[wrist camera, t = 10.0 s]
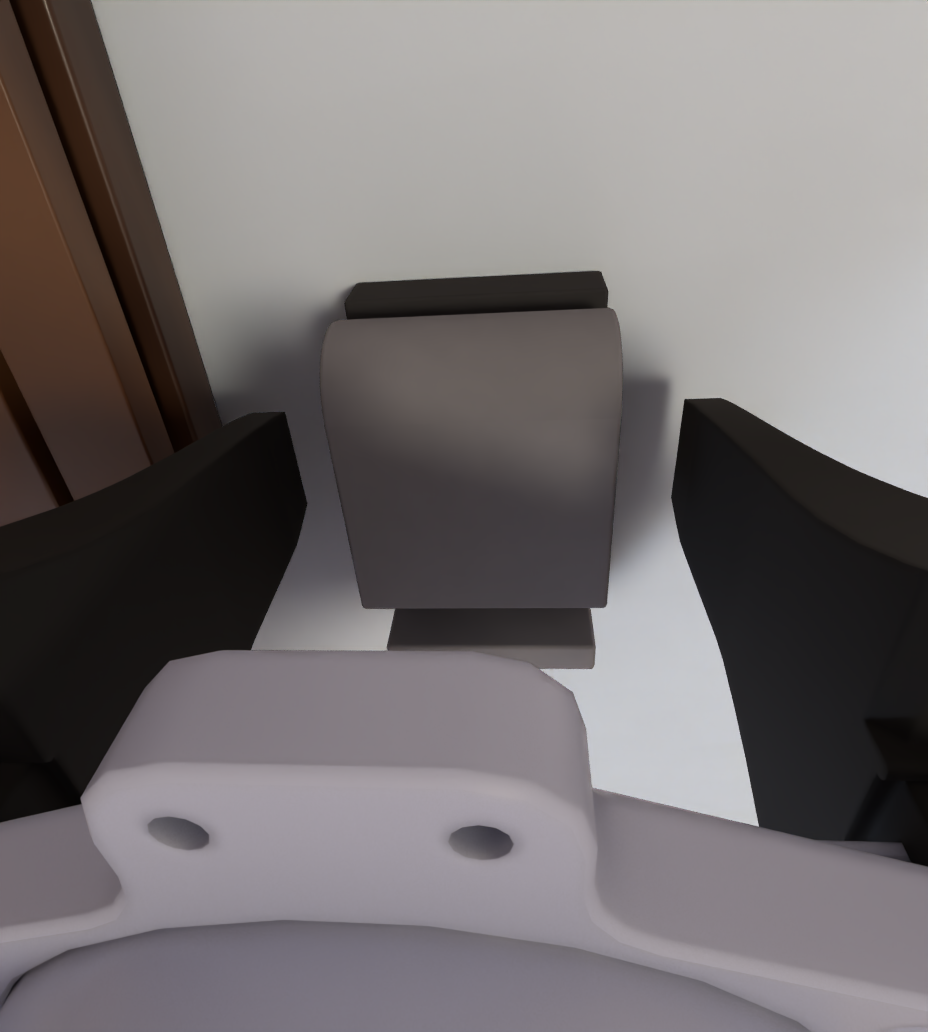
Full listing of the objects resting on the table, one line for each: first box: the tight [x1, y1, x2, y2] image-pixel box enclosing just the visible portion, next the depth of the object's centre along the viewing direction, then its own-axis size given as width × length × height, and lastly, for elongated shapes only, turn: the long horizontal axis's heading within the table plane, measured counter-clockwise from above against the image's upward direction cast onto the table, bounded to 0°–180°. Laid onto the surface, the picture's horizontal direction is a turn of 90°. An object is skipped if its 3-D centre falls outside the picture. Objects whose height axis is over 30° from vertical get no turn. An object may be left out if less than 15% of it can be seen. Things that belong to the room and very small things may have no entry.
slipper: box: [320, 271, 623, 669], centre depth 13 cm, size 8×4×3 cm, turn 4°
